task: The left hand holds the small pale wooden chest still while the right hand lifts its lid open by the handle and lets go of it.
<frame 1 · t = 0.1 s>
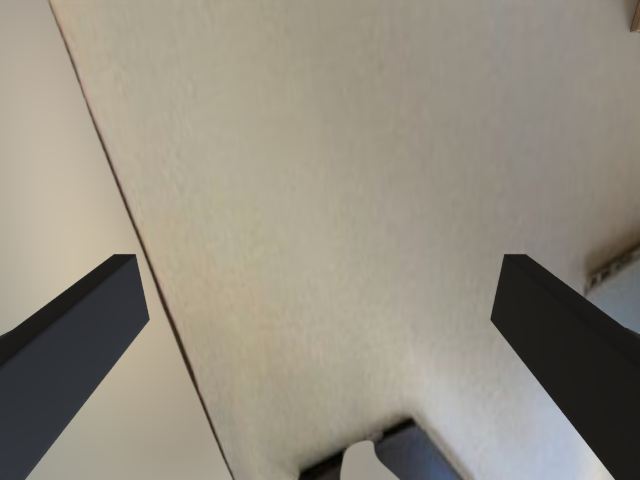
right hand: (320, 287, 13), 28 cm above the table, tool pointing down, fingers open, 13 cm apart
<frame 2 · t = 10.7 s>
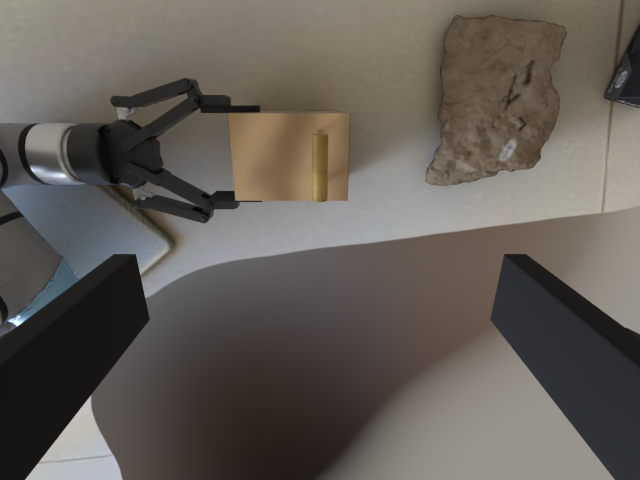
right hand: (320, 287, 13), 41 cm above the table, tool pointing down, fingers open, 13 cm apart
left hand: (260, 154, 44), fingers closed on chest, 10 cm apart
stone: (479, 105, 48), on the table
lid: (288, 163, 38), point 14 cm above the table, hinge at -0.1°
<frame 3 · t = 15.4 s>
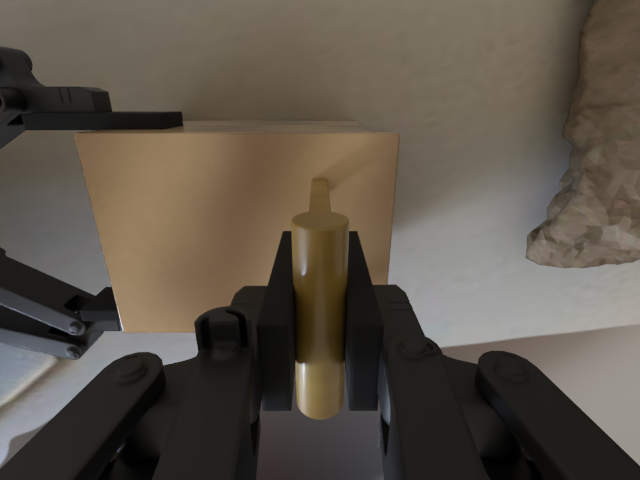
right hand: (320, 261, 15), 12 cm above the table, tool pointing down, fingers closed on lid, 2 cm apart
chest: (267, 191, 26), on the table, touching left hand
lid: (231, 273, 14), point 14 cm above the table, hinge at -0.2°, touching right hand
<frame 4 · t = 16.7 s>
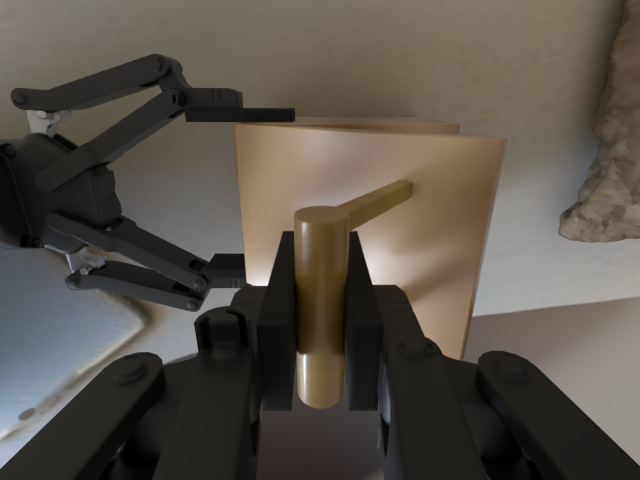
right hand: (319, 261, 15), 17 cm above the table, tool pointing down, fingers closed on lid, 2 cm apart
left hand: (295, 196, 24), fingers closed on chest, 10 cm apart
chest: (339, 176, 31), on the table, touching left hand
lid: (297, 253, 15), point 17 cm above the table, hinge at 35.4°, touching right hand
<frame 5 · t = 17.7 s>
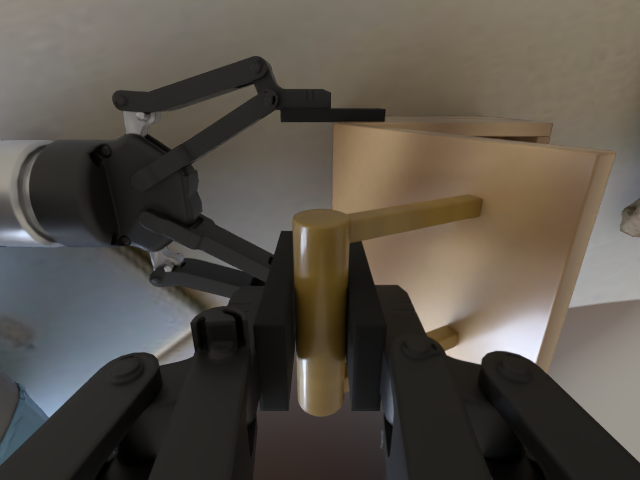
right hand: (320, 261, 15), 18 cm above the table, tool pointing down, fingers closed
left hand: (376, 194, 25), fingers closed on chest, 10 cm apart
chest: (403, 175, 31), on the table, touching left hand
lid: (348, 257, 15), point 18 cm above the table, hinge at 62.5°
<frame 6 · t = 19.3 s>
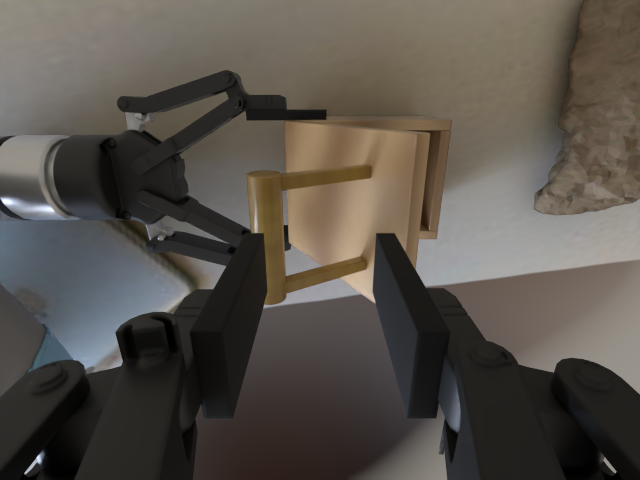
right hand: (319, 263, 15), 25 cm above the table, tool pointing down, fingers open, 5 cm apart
left hand: (325, 177, 32), fingers closed on chest, 10 cm apart
stone: (610, 107, 36), on the table
chest: (356, 164, 38), on the table, touching left hand
lid: (291, 212, 22), point 18 cm above the table, hinge at 58.6°
when the left hand's fingers open (7 cm above the table, at t = 21.7 s): chest stays where it is, on the table.
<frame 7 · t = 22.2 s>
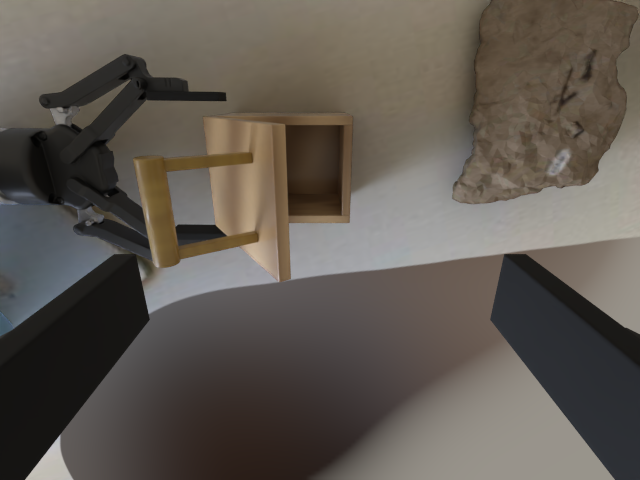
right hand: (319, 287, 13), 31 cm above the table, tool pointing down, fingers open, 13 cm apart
left hand: (229, 169, 35), fingers open, 13 cm apart
stone: (519, 106, 40), on the table
chest: (291, 157, 42), on the table
lid: (195, 194, 25), point 18 cm above the table, hinge at 57.1°
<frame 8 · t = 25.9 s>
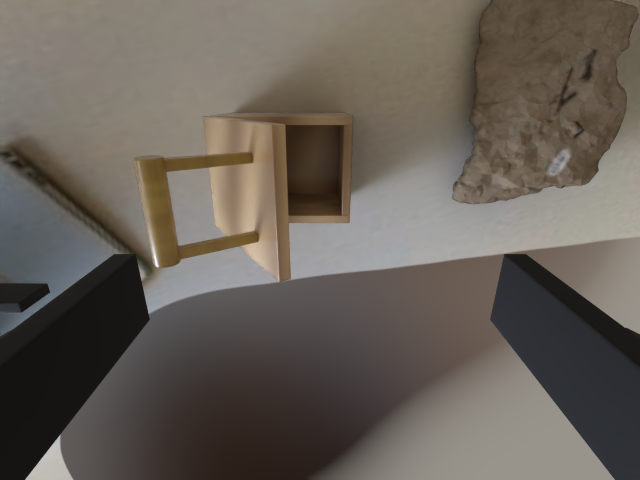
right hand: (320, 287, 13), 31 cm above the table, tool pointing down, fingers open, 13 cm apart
stone: (519, 106, 40), on the table
chest: (291, 157, 42), on the table
lid: (195, 194, 25), point 18 cm above the table, hinge at 57.1°
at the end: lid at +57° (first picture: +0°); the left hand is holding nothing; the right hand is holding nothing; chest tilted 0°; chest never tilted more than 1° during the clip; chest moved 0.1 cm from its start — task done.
